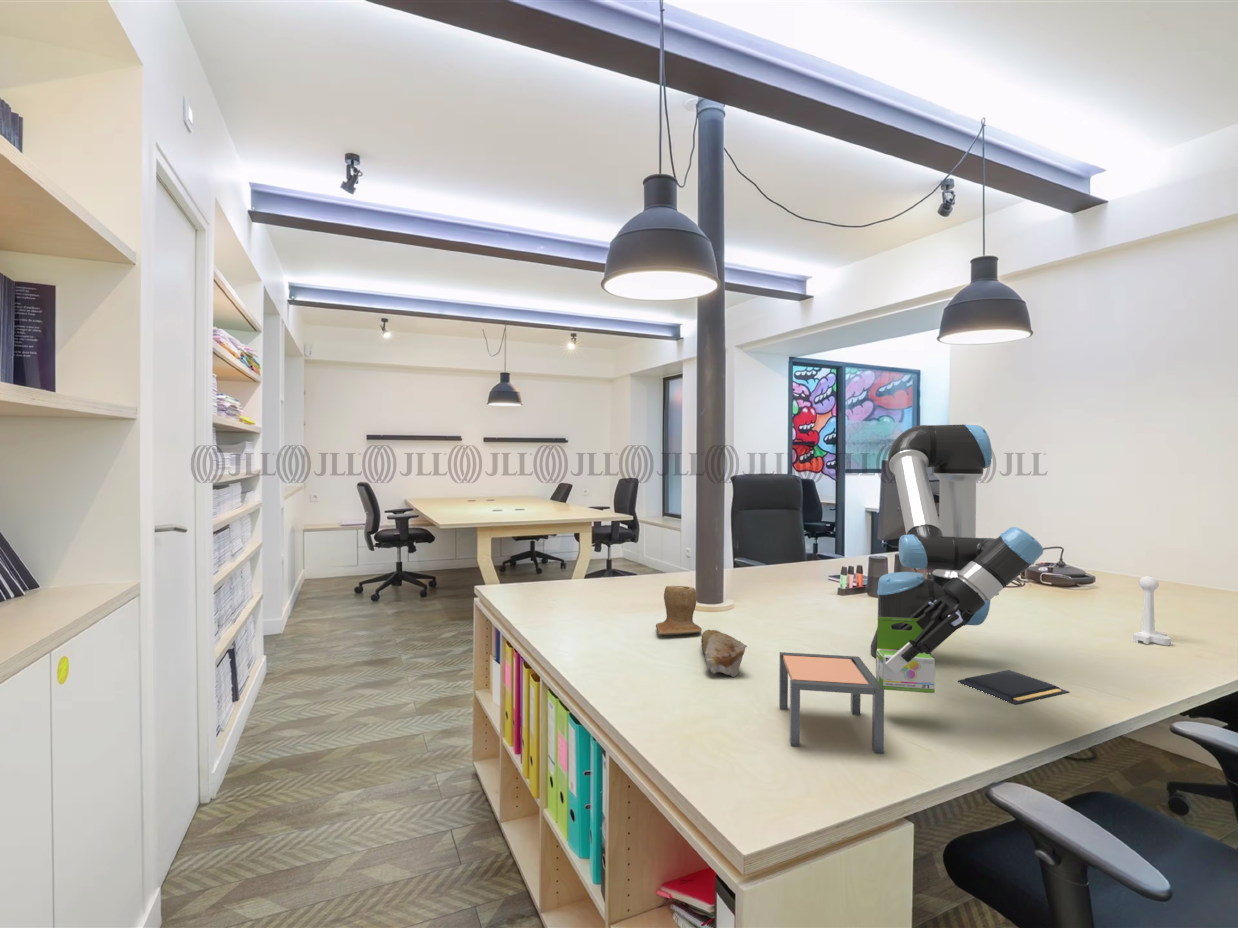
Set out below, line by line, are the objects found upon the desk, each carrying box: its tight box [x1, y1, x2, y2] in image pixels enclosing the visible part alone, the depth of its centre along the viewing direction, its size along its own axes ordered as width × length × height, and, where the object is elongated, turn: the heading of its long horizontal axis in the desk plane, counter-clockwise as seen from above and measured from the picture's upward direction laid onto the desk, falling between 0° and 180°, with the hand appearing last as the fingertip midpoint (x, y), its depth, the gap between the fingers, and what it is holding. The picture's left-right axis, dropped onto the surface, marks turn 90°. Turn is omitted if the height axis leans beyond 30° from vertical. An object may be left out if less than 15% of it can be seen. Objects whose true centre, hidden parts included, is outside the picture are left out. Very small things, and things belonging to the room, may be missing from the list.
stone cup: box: [655, 585, 703, 636], centre depth 181 cm, size 15×12×15 cm
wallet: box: [957, 669, 1071, 706], centre depth 139 cm, size 20×2×15 cm
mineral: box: [700, 629, 748, 678], centre depth 156 cm, size 26×9×10 cm
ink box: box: [875, 616, 936, 694], centre depth 120 cm, size 10×5×14 cm, turn 81°
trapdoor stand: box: [778, 651, 885, 754], centre depth 116 cm, size 17×18×12 cm
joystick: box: [1132, 575, 1172, 647], centre depth 174 cm, size 11×8×20 cm
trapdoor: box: [783, 655, 869, 685], centre depth 117 cm, size 14×14×1 cm
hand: (886, 662), depth 121 cm, fingers closed on ink box, 5 cm apart
